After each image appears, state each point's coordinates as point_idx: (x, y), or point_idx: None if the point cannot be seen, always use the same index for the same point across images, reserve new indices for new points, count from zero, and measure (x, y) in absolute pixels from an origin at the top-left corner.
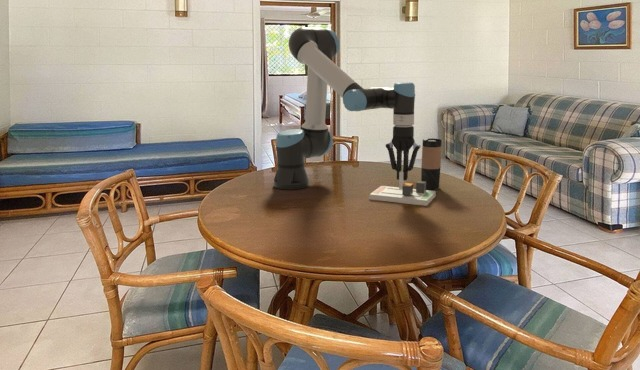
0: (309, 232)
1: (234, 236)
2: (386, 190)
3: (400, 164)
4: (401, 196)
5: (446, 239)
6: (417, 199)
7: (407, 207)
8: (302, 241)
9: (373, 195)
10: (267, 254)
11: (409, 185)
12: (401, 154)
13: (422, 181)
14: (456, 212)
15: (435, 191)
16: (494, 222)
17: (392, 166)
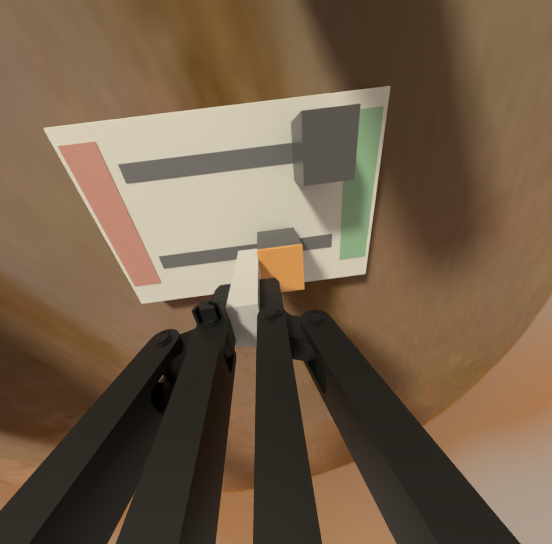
0: None
1: None
2: (151, 219)
3: (226, 384)
4: None
5: (413, 403)
6: (330, 278)
7: (304, 304)
8: (230, 469)
9: (159, 299)
10: (225, 490)
11: (298, 287)
12: (190, 533)
13: (332, 116)
14: (449, 279)
15: (389, 92)
16: (533, 304)
17: (171, 388)
